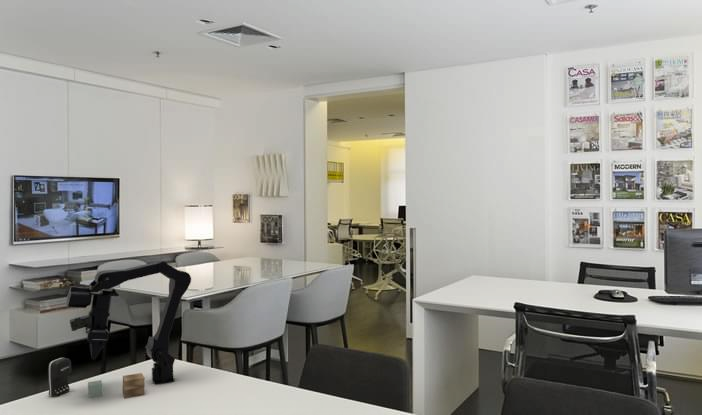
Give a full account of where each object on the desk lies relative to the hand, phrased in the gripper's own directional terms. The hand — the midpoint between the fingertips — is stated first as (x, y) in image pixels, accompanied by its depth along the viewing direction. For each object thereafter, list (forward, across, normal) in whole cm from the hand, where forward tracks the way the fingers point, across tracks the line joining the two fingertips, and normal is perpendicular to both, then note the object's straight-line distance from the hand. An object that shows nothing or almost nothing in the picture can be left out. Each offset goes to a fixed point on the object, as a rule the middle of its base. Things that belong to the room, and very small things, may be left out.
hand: (92, 356), depth 177 cm
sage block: (+12, 0, +3) cm, 13 cm away
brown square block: (+8, +6, +13) cm, 17 cm away
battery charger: (+14, -7, -7) cm, 17 cm away
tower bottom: (+11, +6, +14) cm, 19 cm away
